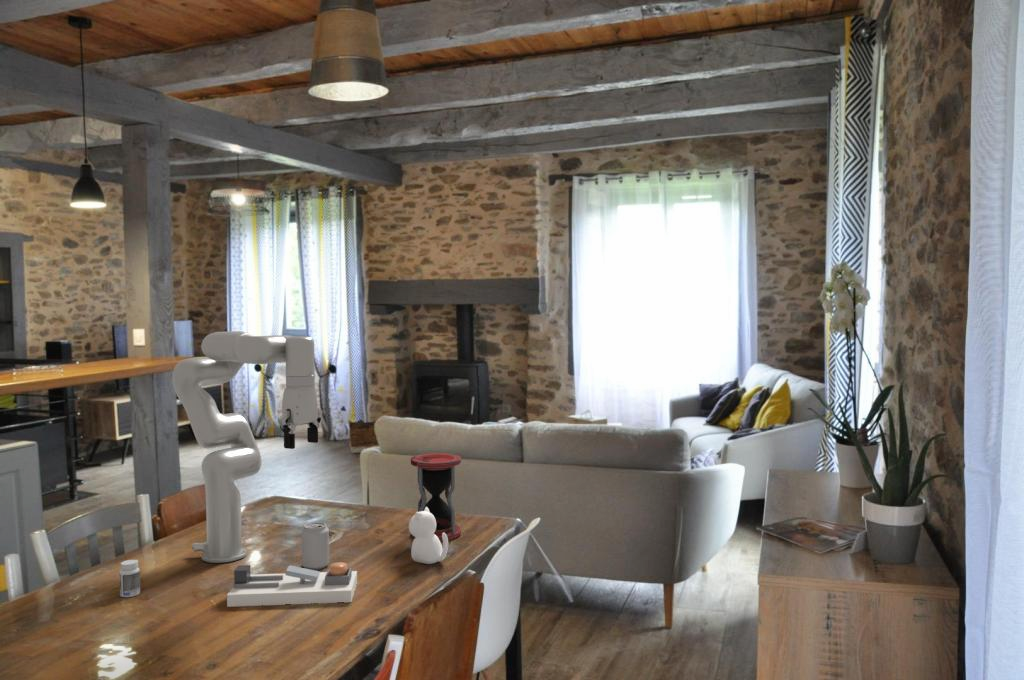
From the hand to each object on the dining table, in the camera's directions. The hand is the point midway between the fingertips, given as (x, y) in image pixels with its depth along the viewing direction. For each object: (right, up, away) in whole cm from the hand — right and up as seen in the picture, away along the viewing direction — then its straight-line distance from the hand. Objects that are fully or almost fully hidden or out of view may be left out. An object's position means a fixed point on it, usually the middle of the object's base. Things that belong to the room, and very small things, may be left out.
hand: (301, 445), depth 208 cm
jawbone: (-3, -35, +35) cm, 50 cm away
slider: (-12, -34, -12) cm, 38 cm away
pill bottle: (-41, -37, -11) cm, 56 cm away
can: (+1, -36, +10) cm, 37 cm away
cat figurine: (+33, -36, +14) cm, 51 cm away
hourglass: (+32, -35, +40) cm, 62 cm away
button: (+12, -32, -10) cm, 36 cm away
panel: (+1, -37, -11) cm, 38 cm away
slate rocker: (+3, -31, -11) cm, 33 cm away
